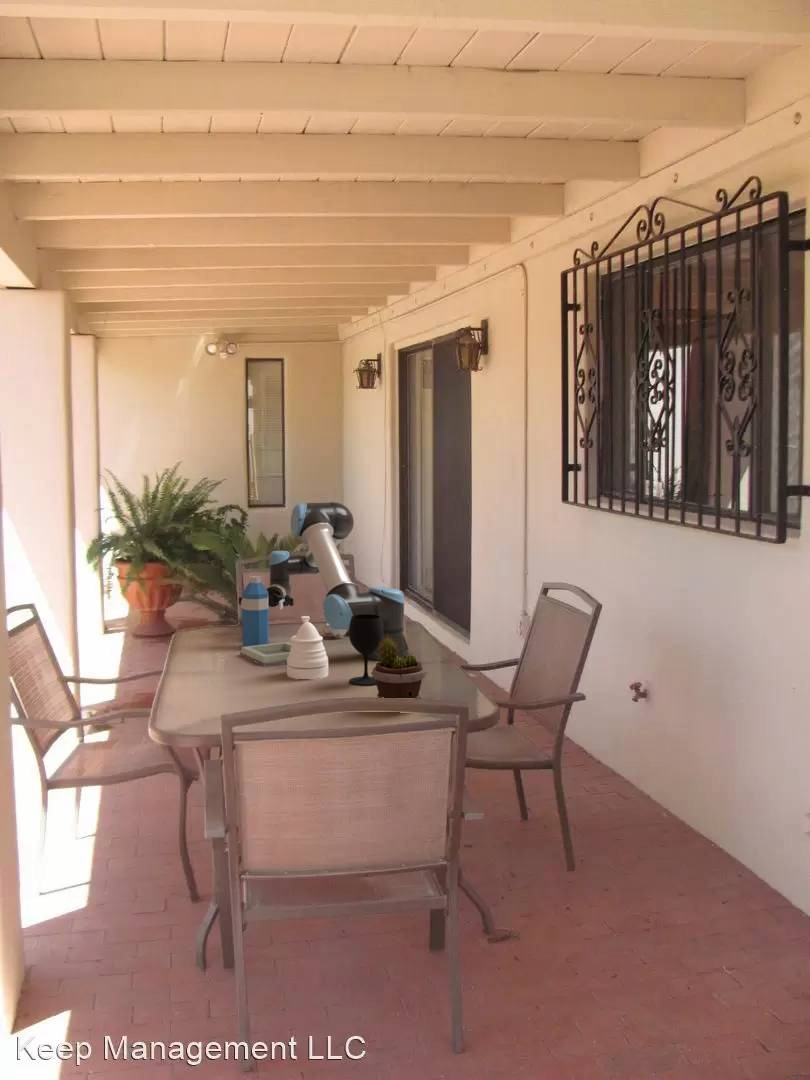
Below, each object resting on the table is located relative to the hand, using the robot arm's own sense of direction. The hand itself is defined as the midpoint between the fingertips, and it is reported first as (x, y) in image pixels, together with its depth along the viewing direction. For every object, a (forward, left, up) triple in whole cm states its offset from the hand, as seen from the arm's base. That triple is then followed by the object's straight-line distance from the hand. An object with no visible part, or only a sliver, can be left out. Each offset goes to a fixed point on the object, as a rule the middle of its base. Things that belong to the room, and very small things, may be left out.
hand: (261, 605), depth 370 cm
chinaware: (-8, -36, -14) cm, 40 cm away
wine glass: (-69, -3, -14) cm, 71 cm away
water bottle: (-7, +5, -14) cm, 16 cm away
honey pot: (-52, +8, -14) cm, 55 cm away
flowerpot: (-97, +3, -14) cm, 98 cm away
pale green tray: (-25, +6, -13) cm, 29 cm away
